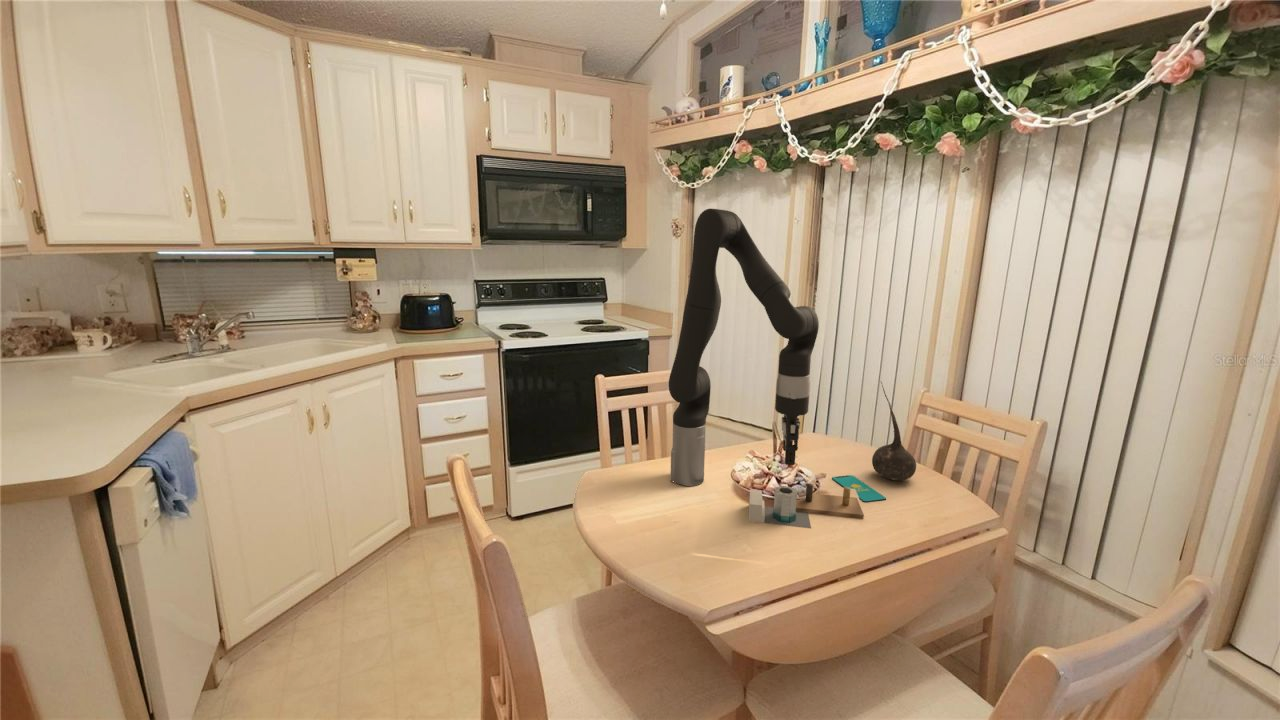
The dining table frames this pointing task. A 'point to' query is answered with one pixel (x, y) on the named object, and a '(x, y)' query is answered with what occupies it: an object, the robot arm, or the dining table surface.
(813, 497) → the pin board
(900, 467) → the radish
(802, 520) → the feeder mat
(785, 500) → the sleeve
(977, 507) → the dining table surface
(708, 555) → the dining table surface
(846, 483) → the smartphone
